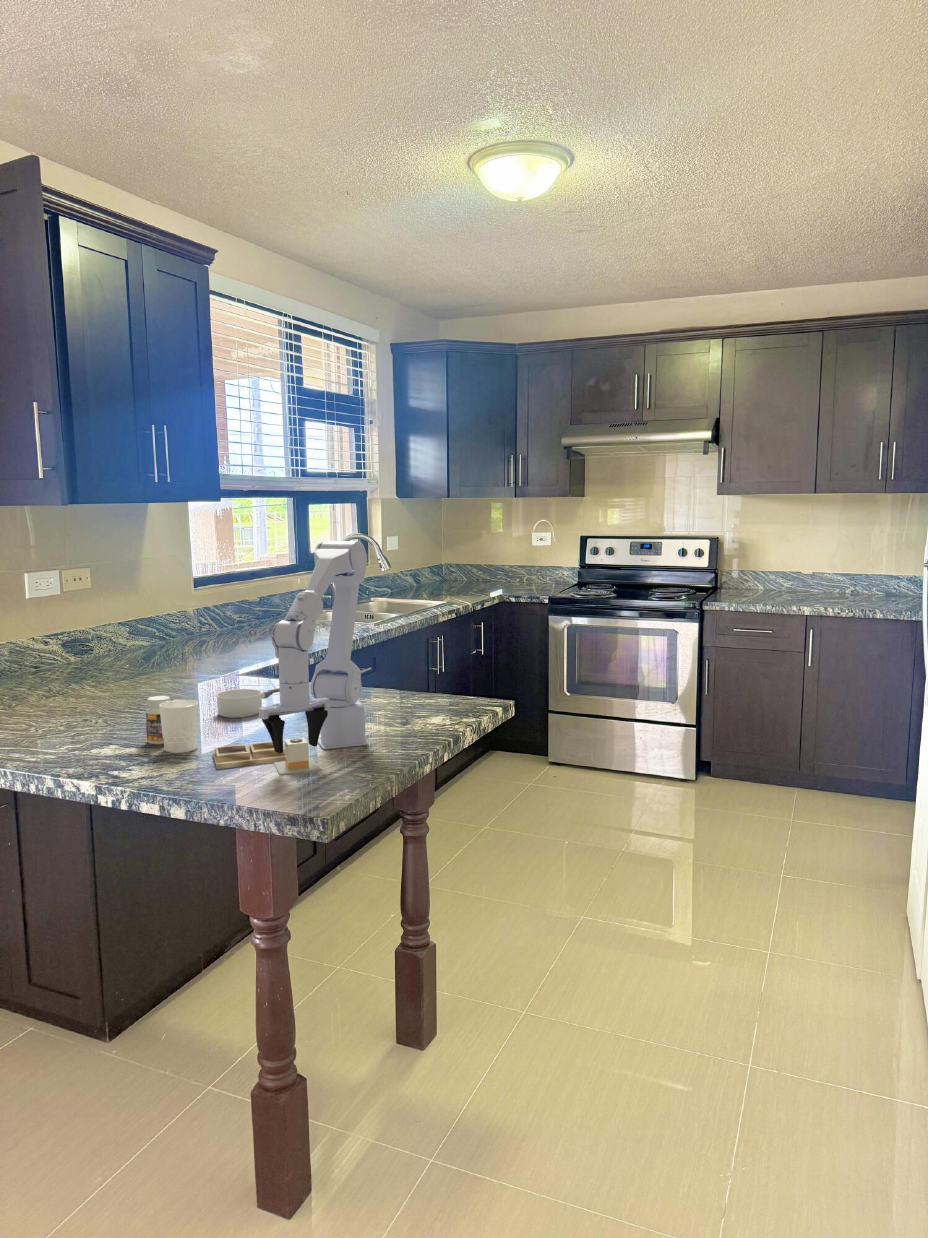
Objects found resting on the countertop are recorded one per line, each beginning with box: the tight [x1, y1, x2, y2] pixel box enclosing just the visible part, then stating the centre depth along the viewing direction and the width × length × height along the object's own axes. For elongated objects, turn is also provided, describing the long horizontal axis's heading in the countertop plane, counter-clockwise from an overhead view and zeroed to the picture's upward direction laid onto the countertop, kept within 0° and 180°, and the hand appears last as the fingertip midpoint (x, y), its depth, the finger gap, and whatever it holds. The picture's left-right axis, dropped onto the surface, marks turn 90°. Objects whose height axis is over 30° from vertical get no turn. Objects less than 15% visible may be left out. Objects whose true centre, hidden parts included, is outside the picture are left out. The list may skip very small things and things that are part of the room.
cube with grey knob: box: [283, 737, 310, 770], centre depth 167 cm, size 4×4×5 cm
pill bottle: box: [145, 695, 171, 745], centre depth 186 cm, size 6×6×10 cm
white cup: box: [159, 699, 199, 754], centre depth 180 cm, size 8×8×10 cm
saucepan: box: [214, 687, 280, 719], centre depth 214 cm, size 12×20×6 cm, turn 125°
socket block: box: [212, 741, 285, 770], centre depth 173 cm, size 14×10×2 cm
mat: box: [273, 757, 322, 776], centre depth 167 cm, size 8×8×1 cm
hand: (296, 748), depth 166 cm, fingers open, 7 cm apart
